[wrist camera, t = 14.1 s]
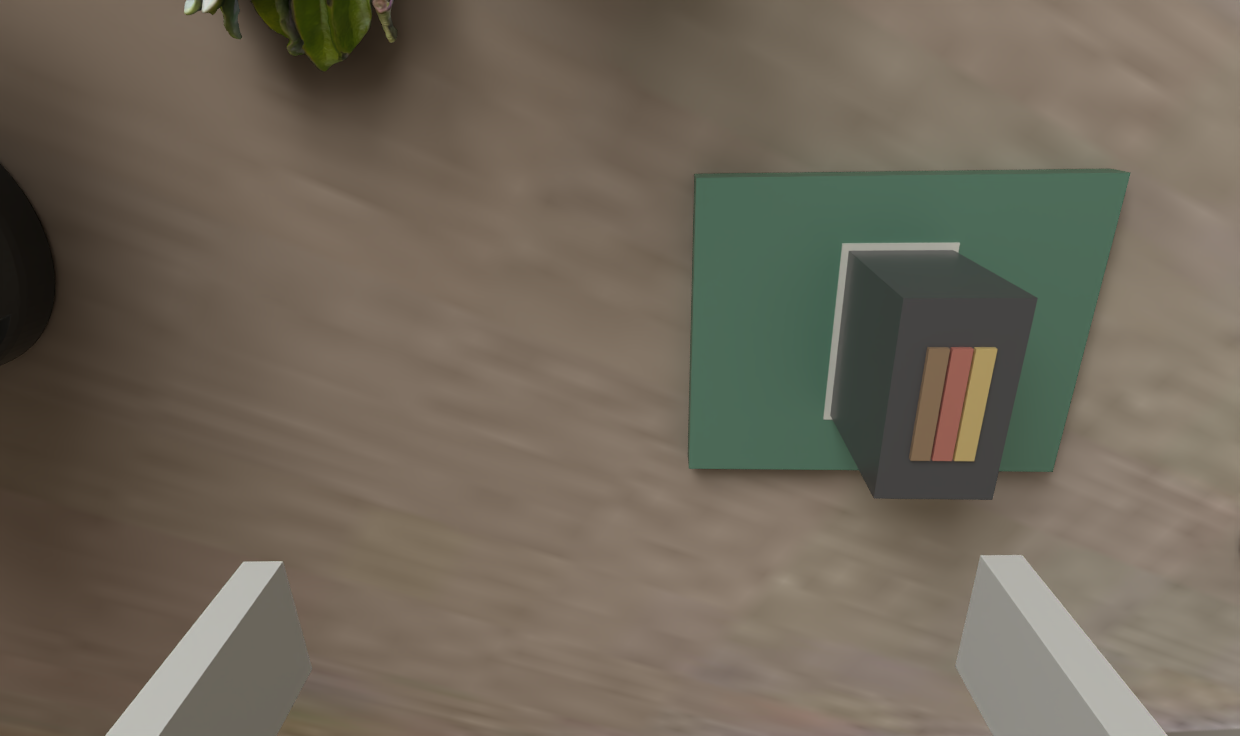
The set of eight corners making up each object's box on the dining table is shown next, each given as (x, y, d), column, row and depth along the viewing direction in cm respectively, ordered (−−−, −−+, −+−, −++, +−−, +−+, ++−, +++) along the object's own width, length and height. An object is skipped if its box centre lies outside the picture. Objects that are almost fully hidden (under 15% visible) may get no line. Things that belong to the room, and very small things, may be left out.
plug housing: (830, 415, 37) (875, 500, 30) (848, 250, 34) (905, 299, 26) (924, 415, 37) (994, 502, 29) (953, 249, 33) (1040, 299, 26)
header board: (687, 455, 40) (691, 498, 36) (694, 173, 34) (699, 186, 30) (1038, 457, 39) (1083, 502, 35) (1110, 168, 33) (1176, 181, 29)
